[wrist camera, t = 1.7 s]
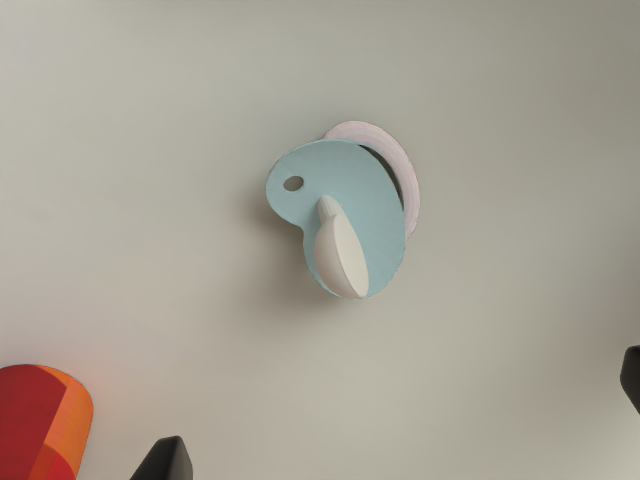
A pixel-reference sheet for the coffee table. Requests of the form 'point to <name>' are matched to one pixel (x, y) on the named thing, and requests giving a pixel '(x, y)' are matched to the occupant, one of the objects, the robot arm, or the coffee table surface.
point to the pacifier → (349, 207)
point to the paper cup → (42, 423)
